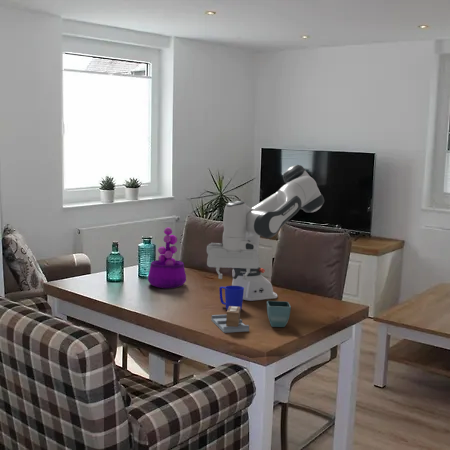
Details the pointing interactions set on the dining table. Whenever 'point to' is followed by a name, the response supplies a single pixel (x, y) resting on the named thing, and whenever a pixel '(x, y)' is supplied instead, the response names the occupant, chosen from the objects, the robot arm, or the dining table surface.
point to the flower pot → (278, 313)
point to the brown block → (233, 316)
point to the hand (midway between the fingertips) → (232, 279)
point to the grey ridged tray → (221, 323)
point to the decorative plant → (167, 266)
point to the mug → (232, 296)
